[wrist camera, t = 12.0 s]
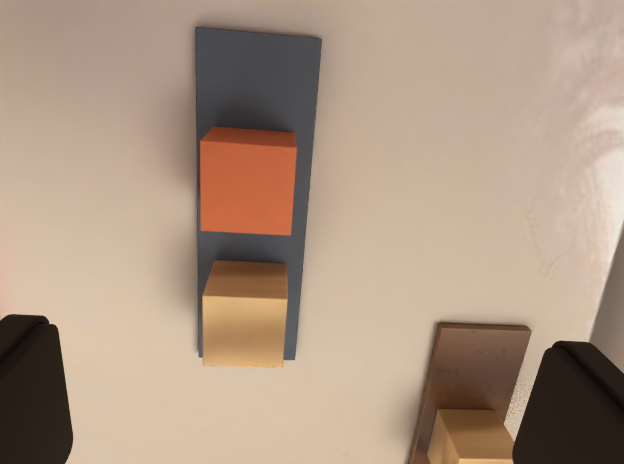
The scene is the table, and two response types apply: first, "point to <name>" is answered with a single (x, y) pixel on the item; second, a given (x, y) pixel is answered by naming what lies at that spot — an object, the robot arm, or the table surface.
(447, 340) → the word strip far
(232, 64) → the word strip near
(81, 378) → the table surface
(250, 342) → the tan wooden cube
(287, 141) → the orange cube
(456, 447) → the light wood cube
